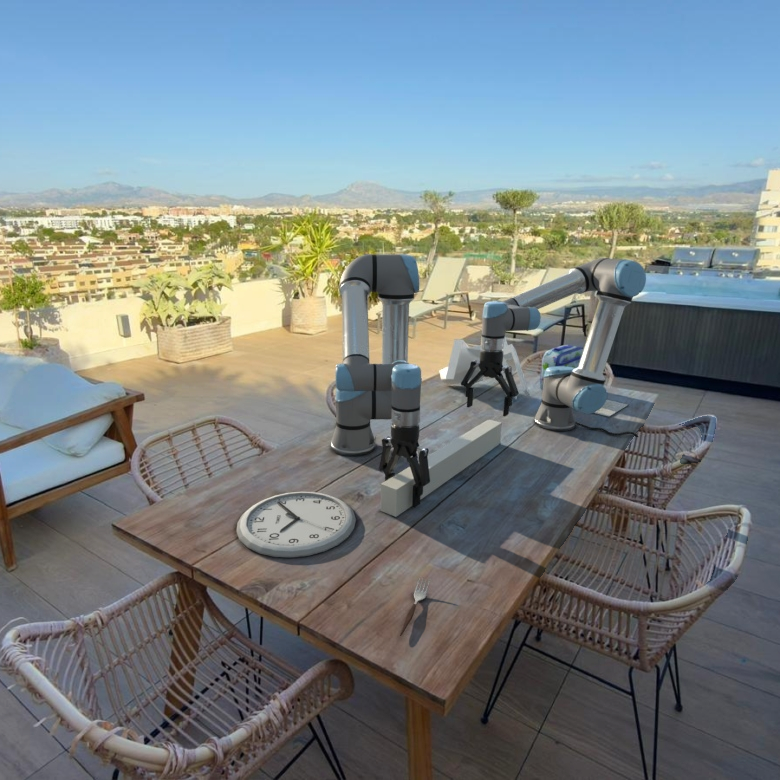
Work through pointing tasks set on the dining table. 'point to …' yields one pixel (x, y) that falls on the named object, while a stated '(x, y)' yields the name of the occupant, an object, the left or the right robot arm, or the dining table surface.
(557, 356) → the lunch box
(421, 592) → the fork
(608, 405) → the invitation card
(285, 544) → the wall clock
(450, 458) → the beam
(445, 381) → the white plastic object
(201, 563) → the dining table surface
